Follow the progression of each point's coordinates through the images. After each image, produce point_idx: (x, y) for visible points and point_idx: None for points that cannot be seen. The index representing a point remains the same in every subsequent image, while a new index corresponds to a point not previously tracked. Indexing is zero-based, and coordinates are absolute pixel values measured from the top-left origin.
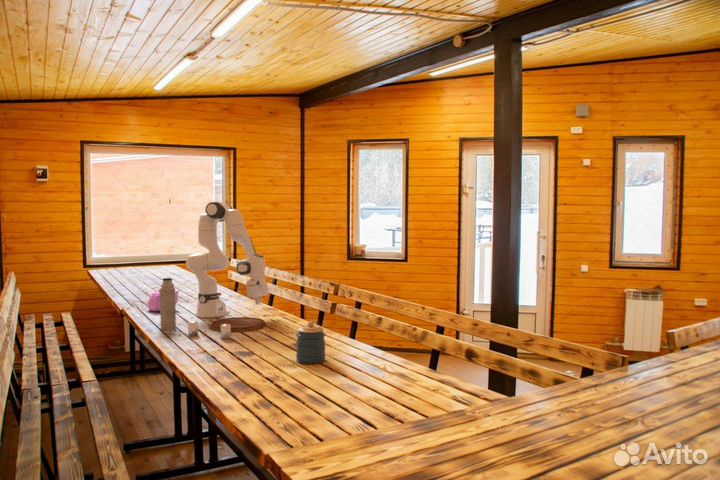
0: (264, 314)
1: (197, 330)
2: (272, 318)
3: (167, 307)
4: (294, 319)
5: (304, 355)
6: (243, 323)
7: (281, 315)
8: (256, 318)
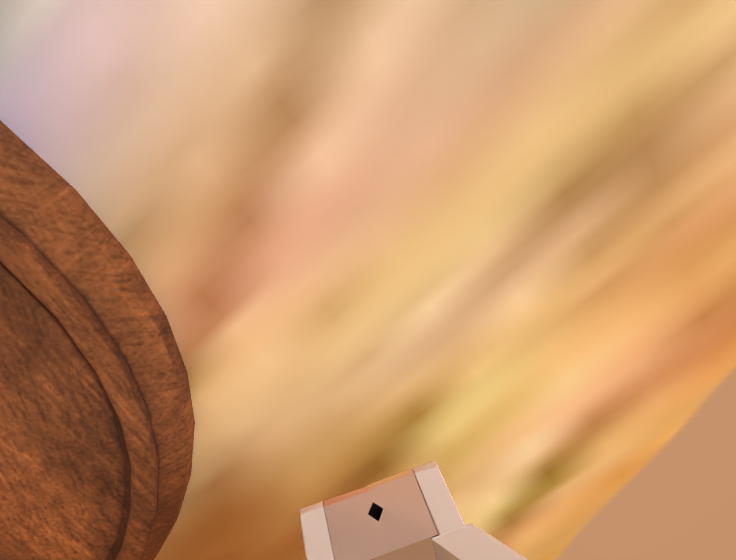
0: (711, 68)
1: None
2: (471, 386)
3: None
4: (529, 554)
5: None
6: None
7: (694, 331)
8: (131, 456)
